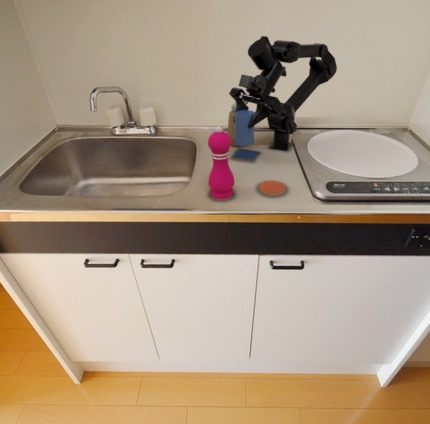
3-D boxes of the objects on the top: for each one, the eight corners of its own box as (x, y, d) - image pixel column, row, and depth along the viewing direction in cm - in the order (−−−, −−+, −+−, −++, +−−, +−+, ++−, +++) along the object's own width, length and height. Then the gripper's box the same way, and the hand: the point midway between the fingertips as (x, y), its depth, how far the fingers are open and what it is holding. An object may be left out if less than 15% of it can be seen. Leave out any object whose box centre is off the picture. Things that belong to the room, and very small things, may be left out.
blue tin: (247, 137, 95) (247, 108, 89) (257, 143, 91) (258, 113, 85) (231, 141, 93) (231, 112, 87) (242, 147, 88) (242, 117, 83)
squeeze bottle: (223, 144, 109) (221, 95, 98) (236, 137, 114) (236, 90, 103) (239, 149, 105) (240, 99, 94) (252, 142, 109) (254, 93, 99)
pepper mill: (232, 202, 77) (230, 132, 65) (206, 200, 79) (200, 131, 67) (236, 188, 83) (236, 121, 71) (212, 186, 84) (208, 120, 72)
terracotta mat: (263, 180, 86) (263, 179, 86) (288, 185, 84) (288, 183, 84) (255, 193, 81) (255, 191, 81) (281, 198, 78) (281, 197, 78)
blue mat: (239, 149, 105) (239, 148, 104) (259, 152, 102) (259, 151, 102) (231, 158, 99) (231, 156, 99) (252, 161, 96) (252, 160, 96)
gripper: (232, 58, 86) (207, 104, 87) (280, 66, 74) (250, 118, 75) (250, 81, 94) (227, 122, 95) (295, 91, 83) (268, 138, 84)
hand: (241, 125), depth 87 cm, fingers closed on blue tin, 6 cm apart
